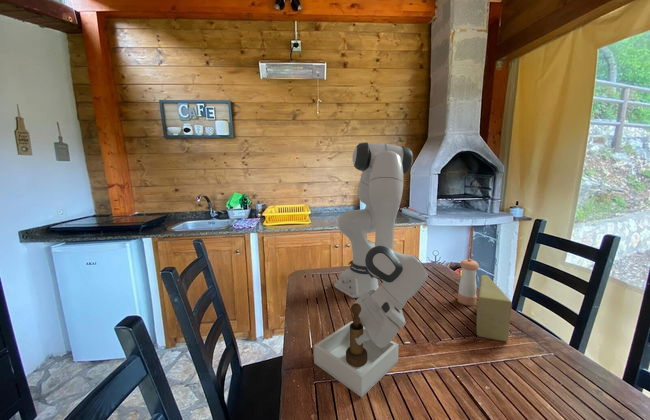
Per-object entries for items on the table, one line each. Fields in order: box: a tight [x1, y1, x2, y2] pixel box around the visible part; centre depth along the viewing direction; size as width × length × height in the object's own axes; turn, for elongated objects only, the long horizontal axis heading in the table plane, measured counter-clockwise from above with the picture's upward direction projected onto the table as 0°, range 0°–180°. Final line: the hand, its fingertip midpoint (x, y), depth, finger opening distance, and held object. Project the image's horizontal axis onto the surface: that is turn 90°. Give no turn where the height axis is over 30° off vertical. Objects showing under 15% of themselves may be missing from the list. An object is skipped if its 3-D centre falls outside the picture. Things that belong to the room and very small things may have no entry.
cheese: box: [476, 274, 513, 342], centre depth 103 cm, size 22×10×15 cm, turn 159°
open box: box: [313, 320, 400, 398], centre depth 84 cm, size 18×18×6 cm
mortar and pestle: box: [346, 303, 367, 367], centre depth 83 cm, size 7×6×18 cm
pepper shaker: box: [456, 258, 480, 307], centre depth 118 cm, size 7×7×19 cm
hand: (354, 337), depth 83 cm, fingers closed on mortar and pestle, 4 cm apart
